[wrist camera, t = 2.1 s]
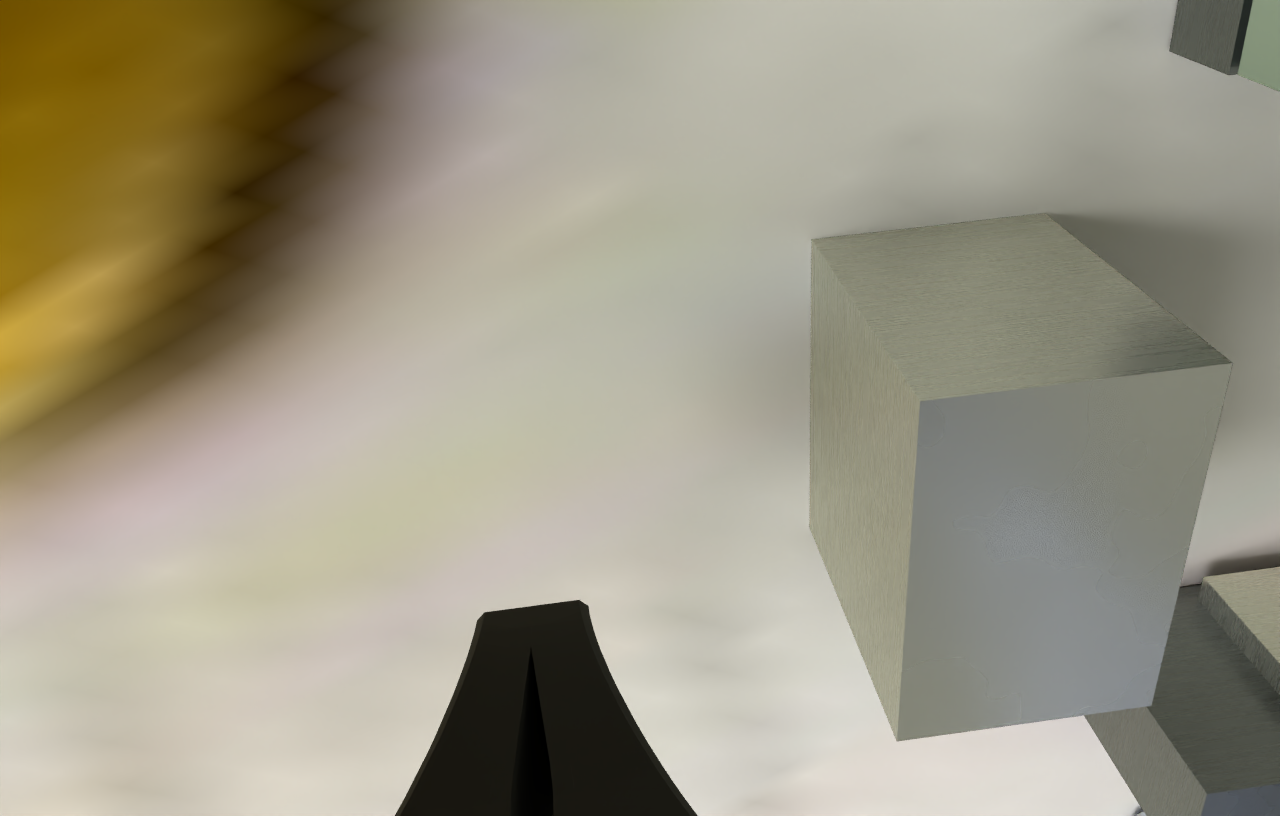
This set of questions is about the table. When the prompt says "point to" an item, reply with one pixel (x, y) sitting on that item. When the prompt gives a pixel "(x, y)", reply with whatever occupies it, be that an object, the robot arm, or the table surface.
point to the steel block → (1002, 469)
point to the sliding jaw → (1262, 45)
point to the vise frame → (1209, 621)
